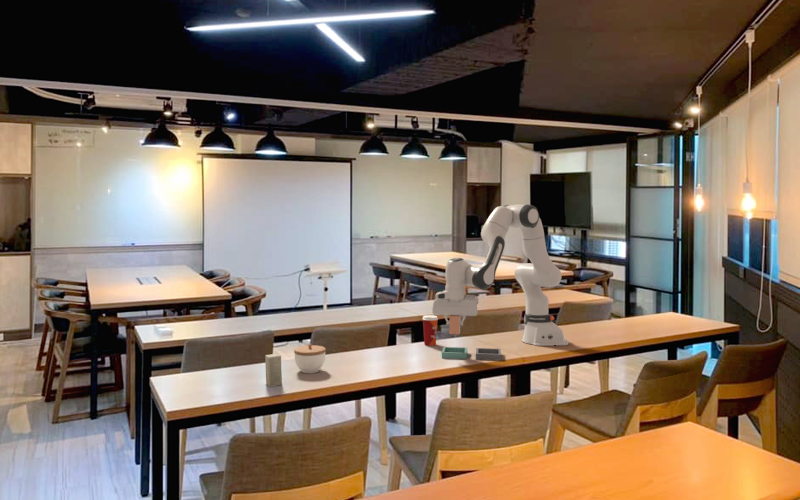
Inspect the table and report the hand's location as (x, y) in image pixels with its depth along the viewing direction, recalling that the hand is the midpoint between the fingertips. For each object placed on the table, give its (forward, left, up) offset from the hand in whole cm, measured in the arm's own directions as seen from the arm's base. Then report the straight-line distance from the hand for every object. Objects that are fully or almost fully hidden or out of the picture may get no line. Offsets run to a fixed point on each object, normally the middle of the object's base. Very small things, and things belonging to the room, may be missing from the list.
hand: (454, 325), depth 260 cm
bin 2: (-15, 0, -14) cm, 20 cm away
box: (+65, +54, -14) cm, 86 cm away
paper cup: (+13, -20, -14) cm, 28 cm away
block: (0, 0, -4) cm, 4 cm away
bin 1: (0, 0, -14) cm, 14 cm away
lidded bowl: (+57, +34, -14) cm, 68 cm away
